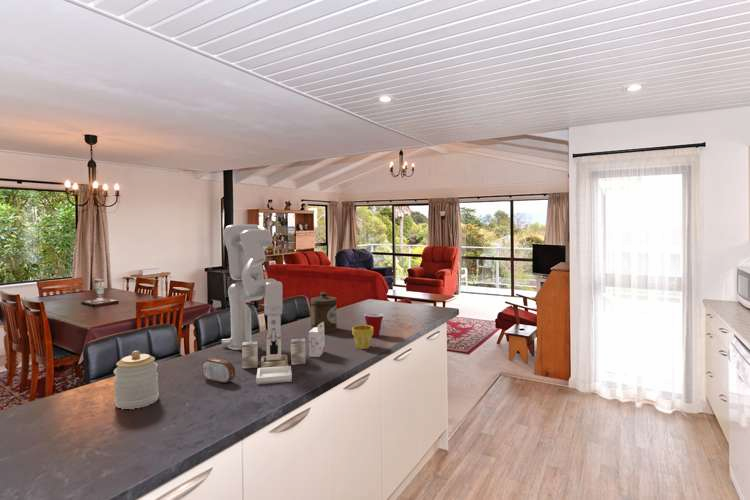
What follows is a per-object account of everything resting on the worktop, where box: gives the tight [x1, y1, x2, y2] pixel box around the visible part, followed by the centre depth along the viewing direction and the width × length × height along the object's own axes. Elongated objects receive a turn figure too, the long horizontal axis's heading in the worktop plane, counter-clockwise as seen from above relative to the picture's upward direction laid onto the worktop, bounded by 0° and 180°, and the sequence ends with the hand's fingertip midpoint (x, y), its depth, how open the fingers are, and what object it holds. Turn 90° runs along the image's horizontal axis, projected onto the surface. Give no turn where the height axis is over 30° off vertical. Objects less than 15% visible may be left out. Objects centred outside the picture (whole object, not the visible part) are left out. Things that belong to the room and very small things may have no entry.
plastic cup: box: [363, 312, 385, 338], centre depth 224 cm, size 11×11×12 cm
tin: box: [201, 356, 236, 384], centre depth 159 cm, size 15×3×8 cm, turn 65°
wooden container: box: [309, 291, 338, 334], centre depth 236 cm, size 15×15×22 cm
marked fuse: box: [266, 334, 282, 360], centre depth 178 cm, size 6×4×10 cm, turn 103°
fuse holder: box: [241, 337, 307, 369], centre depth 178 cm, size 26×9×10 cm, turn 103°
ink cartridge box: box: [308, 322, 326, 358], centre depth 192 cm, size 9×5×15 cm, turn 168°
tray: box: [255, 365, 293, 385], centre depth 162 cm, size 13×11×2 cm
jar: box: [113, 350, 160, 410], centre depth 140 cm, size 13×13×18 cm
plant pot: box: [351, 324, 373, 350], centre depth 203 cm, size 10×10×10 cm
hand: (273, 351), depth 178 cm, fingers closed on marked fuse, 4 cm apart
